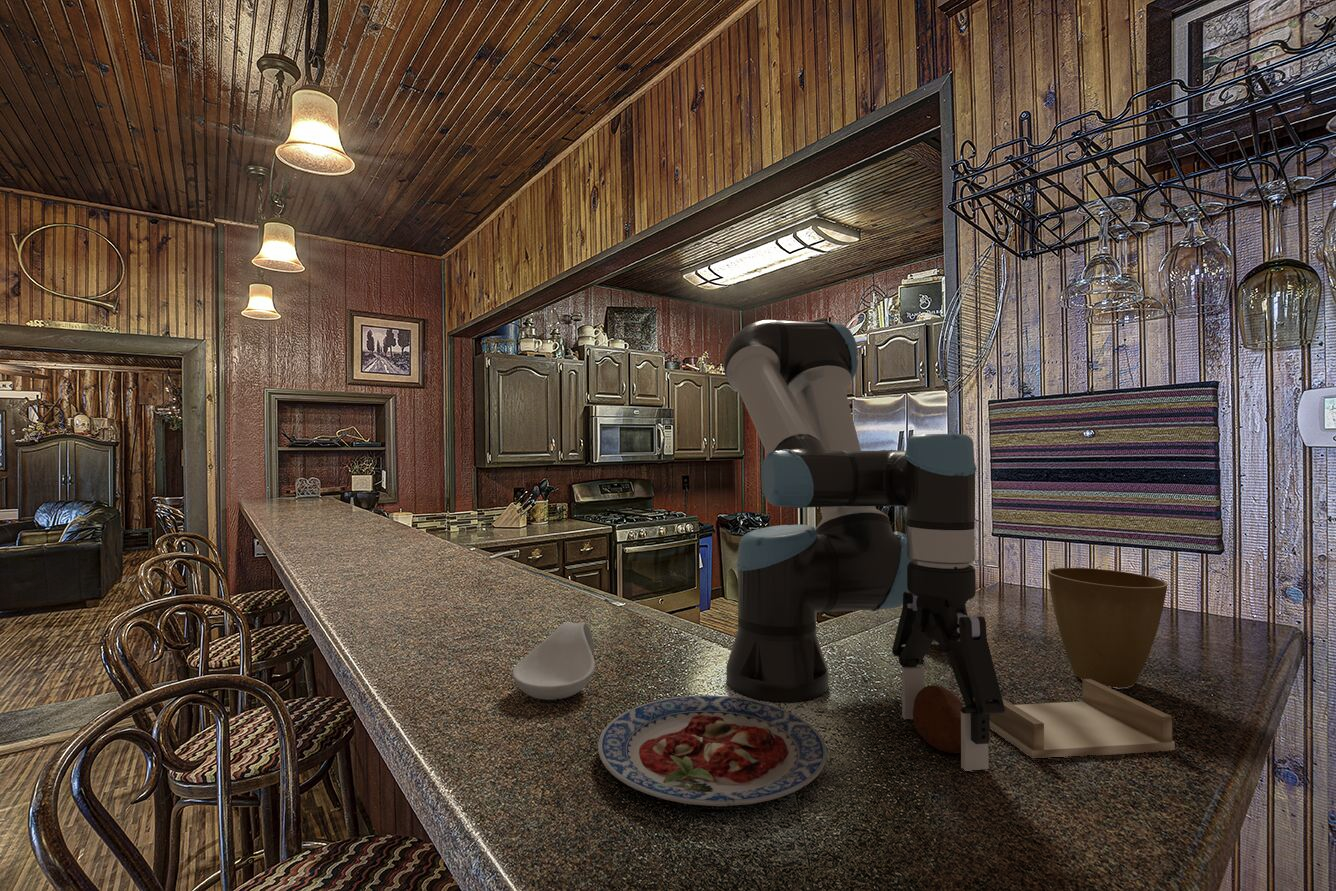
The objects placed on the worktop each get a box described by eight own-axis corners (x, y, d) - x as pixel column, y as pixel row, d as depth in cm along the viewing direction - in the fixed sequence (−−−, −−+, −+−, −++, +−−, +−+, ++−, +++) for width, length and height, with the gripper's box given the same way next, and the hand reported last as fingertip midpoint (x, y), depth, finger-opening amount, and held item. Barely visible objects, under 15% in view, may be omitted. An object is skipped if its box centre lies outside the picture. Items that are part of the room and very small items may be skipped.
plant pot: (1114, 705, 85) (1114, 589, 85) (1025, 668, 99) (1025, 569, 100) (1194, 694, 89) (1193, 583, 89) (1098, 660, 103) (1097, 564, 104)
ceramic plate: (689, 696, 89) (689, 675, 89) (864, 750, 73) (863, 725, 73) (549, 766, 69) (549, 739, 69) (747, 863, 53) (746, 828, 53)
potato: (938, 768, 68) (937, 710, 68) (897, 722, 80) (897, 672, 80) (992, 768, 69) (991, 709, 69) (943, 722, 80) (943, 672, 80)
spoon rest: (585, 712, 84) (585, 658, 84) (500, 709, 84) (500, 657, 84) (613, 654, 107) (613, 613, 107) (546, 653, 108) (546, 612, 108)
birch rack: (1031, 759, 70) (1031, 724, 70) (968, 714, 82) (968, 684, 82) (1174, 750, 72) (1174, 716, 72) (1092, 708, 84) (1092, 678, 84)
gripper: (1042, 582, 63) (1044, 795, 62) (917, 546, 87) (918, 699, 87) (973, 584, 62) (974, 800, 62) (866, 547, 86) (866, 701, 86)
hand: (941, 741), depth 74 cm, fingers open, 12 cm apart
